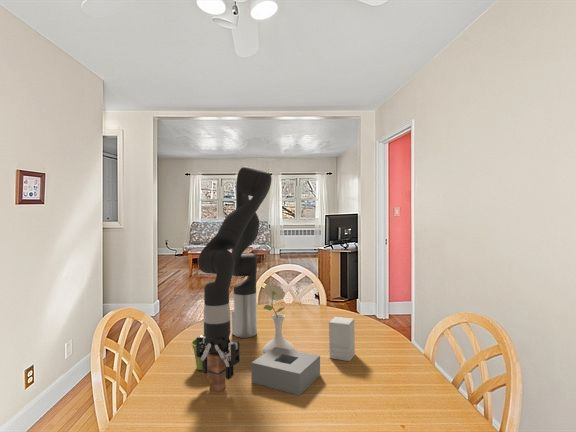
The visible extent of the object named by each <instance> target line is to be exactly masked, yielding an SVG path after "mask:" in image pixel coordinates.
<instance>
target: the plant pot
mask: <svg viewBox="0 0 576 432" xmlns="http://www.w3.org/2000/svg"><path fill="white" fill-rule="evenodd" d="M190 344H191V346H192V349H193V352H194V357H195V358H194V359H195V365H196V370H198V371H202V372H203V369H202V360H201V358H200V357H197V356H196V338H194V339H192V341H191V342H190ZM206 347H207V346H206V344H205V349H206ZM200 352H201V351H200Z"/></svg>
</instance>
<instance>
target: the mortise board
mask: <svg viewBox="0 0 576 432" xmlns="http://www.w3.org/2000/svg"><path fill="white" fill-rule="evenodd" d="M250 363H251V364H250V365H251V370H250V372H251V384H255V385H259V386H263V387H266V388H271V389H274V390H277V391H278V390H279V391H282V392H286V393H290V394H293V395H297V396H301V395H302V394H303V393H304V392H305V391H306V390H307V389H308V388H309V387H310V386H311V385H312V384H313V383H314V382H315V381H316V380H317V379H318V378H319V377H320V375H321V355H318V354H314V353H310V352H309V353H308V352H303V351H298V350H295V351H294V350H289V349H284V348H279V347H274V348H273V349H271V350H270V351H268V352H267V353H265V354H264V353H263V354H262V355H260V356H259V357H258V358H255V360H253V361H252V362H250Z"/></svg>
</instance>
